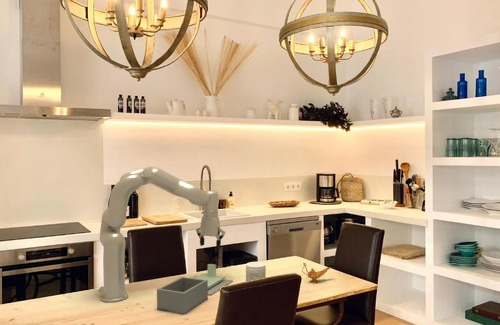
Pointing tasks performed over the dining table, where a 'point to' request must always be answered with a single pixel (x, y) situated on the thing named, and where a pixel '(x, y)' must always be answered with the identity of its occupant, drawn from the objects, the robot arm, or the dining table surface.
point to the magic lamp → (315, 274)
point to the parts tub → (182, 295)
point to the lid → (211, 276)
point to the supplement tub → (255, 271)
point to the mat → (218, 286)
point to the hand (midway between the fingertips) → (210, 246)
